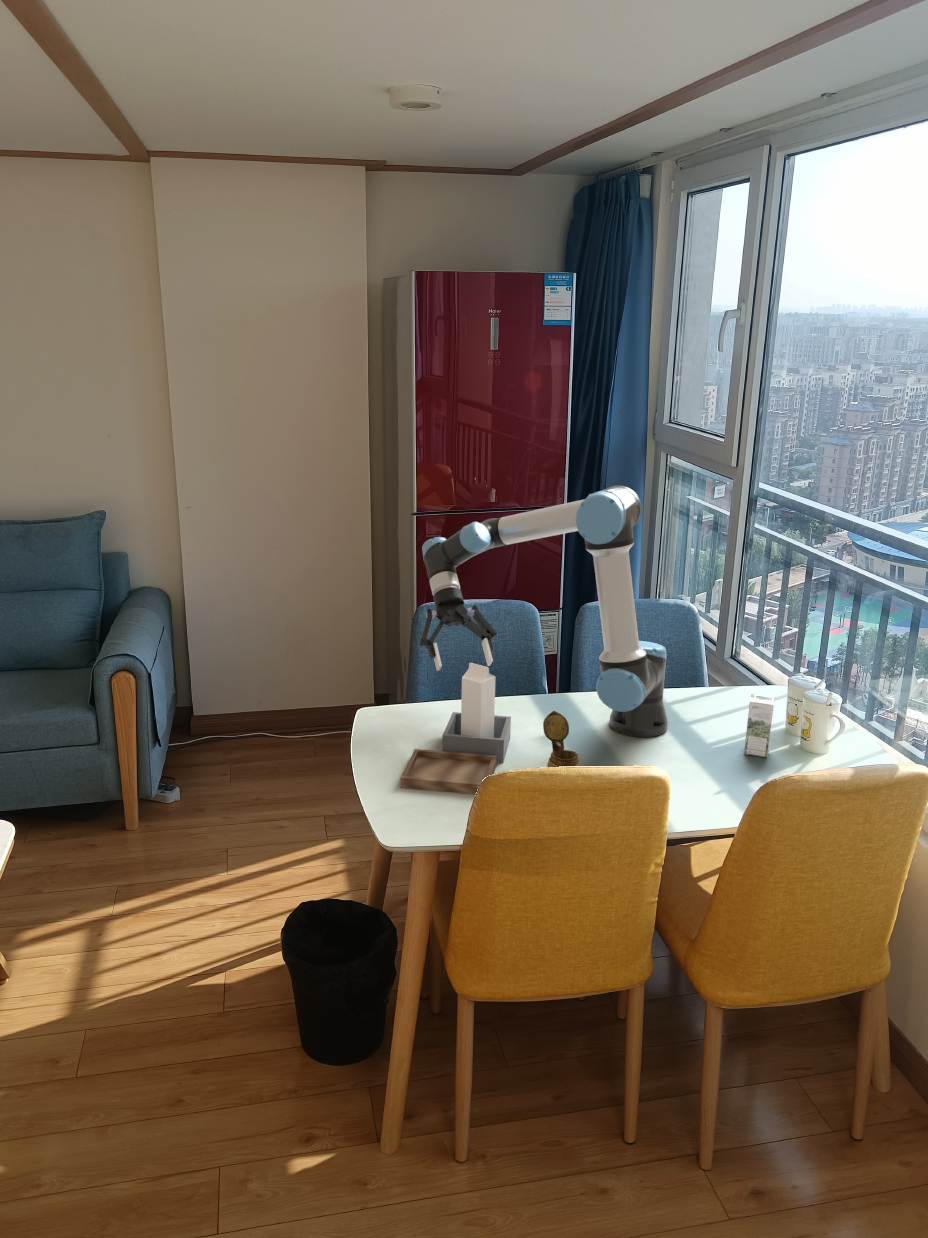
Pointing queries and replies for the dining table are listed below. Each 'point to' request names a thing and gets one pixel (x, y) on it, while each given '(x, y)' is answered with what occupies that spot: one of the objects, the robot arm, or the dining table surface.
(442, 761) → the tray
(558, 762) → the wooden mug
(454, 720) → the box
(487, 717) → the milk
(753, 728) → the white drink carton
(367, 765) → the dining table surface
